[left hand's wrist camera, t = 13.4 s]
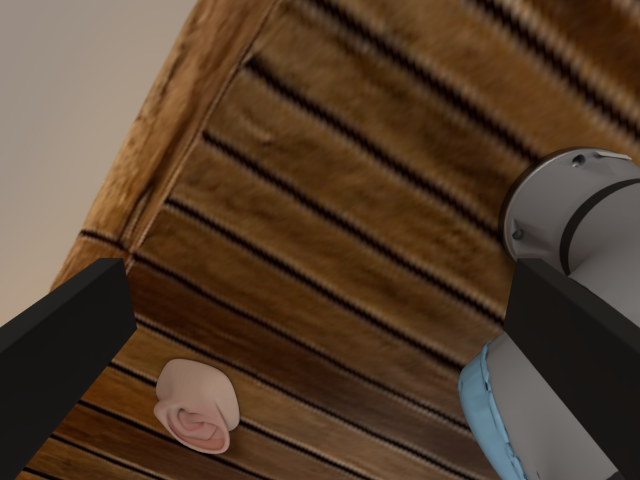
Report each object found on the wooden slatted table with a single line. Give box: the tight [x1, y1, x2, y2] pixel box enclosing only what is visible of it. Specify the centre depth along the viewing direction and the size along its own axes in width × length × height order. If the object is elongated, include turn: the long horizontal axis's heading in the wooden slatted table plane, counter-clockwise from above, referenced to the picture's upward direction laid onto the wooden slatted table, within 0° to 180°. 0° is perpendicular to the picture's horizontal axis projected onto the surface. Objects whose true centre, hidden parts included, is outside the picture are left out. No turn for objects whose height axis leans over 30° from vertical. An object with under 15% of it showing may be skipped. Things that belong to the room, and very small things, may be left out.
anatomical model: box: [154, 359, 239, 454], centre depth 50 cm, size 13×4×12 cm
